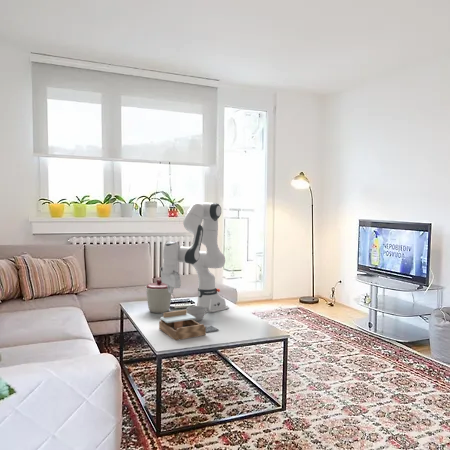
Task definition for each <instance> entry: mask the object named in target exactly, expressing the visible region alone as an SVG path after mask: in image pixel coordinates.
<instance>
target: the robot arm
mask: <svg viewBox="0 0 450 450" xmlns="http://www.w3.org/2000/svg"><path fill="white" fill-rule="evenodd" d="M221 215H222V207H221V205H220V203H216V202H208V201H207V202H205V201H204V202H194V203H192V204H190V206H189V208H188V210H187V211H186V214H185V216H184V219H183V222H182V224H183V225H182V226H183V227H184V229H185V230H186V231H187V232H188V233H191V234H193V239H192V244H191V245H190V246H181V245H179V244H178V241H173V240H172V241H167V242H165V243H164V245H163V250H162V251H163V252H162V253H163V254H162V258H163V263H162V266H160V268H159V271H160V280H161V281H162V283H164V284H167V287H168V292H169V293H171V294H173V293H174V290H175V289H180V288H181V284H182V283H181V282H182V281H181V275H180V273H179V263H182V264H183V263H184V264H189V265H191V266H192V267H193V269H194V270H195V271H196V274H197V278H198V281H197V282H198V283H197V284H198V288H197V303H196V306H203V307H208V309H209V311H208V312H207V313H216V312H219V311H223V310H228V309H230V306H229V305H227V304H226V300H225V298H224V297H223V296H221V295H220V294H219V292H221V289H220V288H216V277H215V275H214V274H213V273H212V272H210V270H209V269H221V268H223V267H224V266H225V263H226V256H225V254H223V253H222V251H221V250H220V248H219V245H218V233H219V218H220V216H221ZM202 245H204V246H205V248H206V250H201V247H202ZM206 311H207V308H205V309H204V312H206Z"/></svg>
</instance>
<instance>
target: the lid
mask: <svg viewBox="0 0 450 450" xmlns="http://www.w3.org/2000/svg"><path fill="white" fill-rule="evenodd" d="M162 314H163V315H162V316H161V317H160V318H159V320H160V321H161V320H163V321H165V322H166V323H172V322H178V321H185V320H192V319H196V317H194V316H192V315H190V314H188V313H187V309H182V310H181V309H180V310H174V311H173V310H172V311H167V312H164V313H162Z"/></svg>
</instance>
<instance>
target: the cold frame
mask: <svg viewBox="0 0 450 450" xmlns="http://www.w3.org/2000/svg"><path fill="white" fill-rule="evenodd" d="M206 327H207V326H205V324H204V323H202V324H201V323H199V321H194V320H185V321H183V327H181V328H177V331H176V330H174V322H172V323H166V322H165V321H163V320H161V319H160V320H159V323H158V328H159V329H158V330H160V331H161V330H162V331H161V332H163V333H165V334H166V335H167V336H169V337H170V338H171V339H173V340H175V341H178V340H179V339H180V340H185V339H192V338H196V337H200V336H206Z"/></svg>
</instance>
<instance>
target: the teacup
mask: <svg viewBox="0 0 450 450" xmlns="http://www.w3.org/2000/svg"><path fill="white" fill-rule="evenodd" d="M205 308H207V311H204V309H205ZM186 310H187V313H188V314H190V315H192V316H194V317H196V319H192V320H194V321H196V322H200V321H202V320H203V318H204V317H205V316H206V315H207V314H208V313H209V312H208V311H209V309H208V307H203V306H197V305H191V306H188V307H186Z"/></svg>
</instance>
